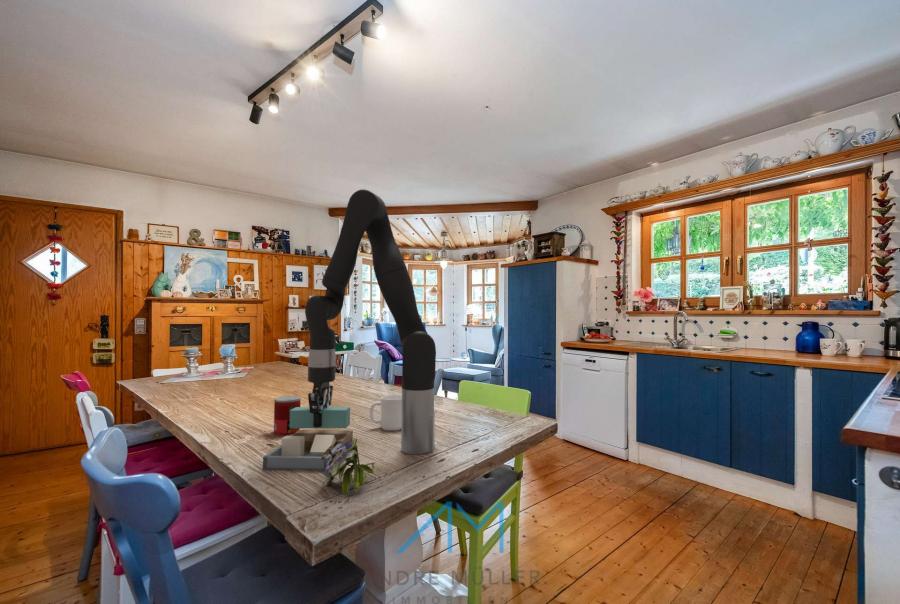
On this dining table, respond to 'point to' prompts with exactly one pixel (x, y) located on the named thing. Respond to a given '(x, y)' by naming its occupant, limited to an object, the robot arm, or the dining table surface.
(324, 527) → the dining table surface
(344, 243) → the robot arm
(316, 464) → the tray
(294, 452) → the tile
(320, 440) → the tile
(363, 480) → the passion flower
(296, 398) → the canned food
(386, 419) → the cup
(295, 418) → the teal rectangular block
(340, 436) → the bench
